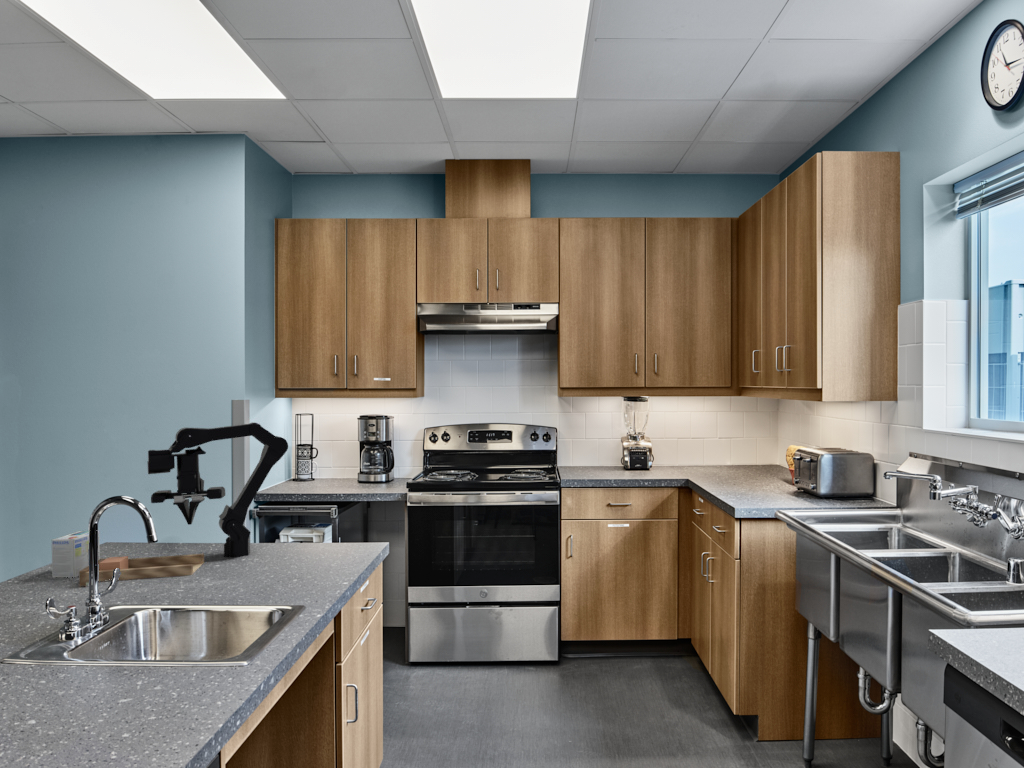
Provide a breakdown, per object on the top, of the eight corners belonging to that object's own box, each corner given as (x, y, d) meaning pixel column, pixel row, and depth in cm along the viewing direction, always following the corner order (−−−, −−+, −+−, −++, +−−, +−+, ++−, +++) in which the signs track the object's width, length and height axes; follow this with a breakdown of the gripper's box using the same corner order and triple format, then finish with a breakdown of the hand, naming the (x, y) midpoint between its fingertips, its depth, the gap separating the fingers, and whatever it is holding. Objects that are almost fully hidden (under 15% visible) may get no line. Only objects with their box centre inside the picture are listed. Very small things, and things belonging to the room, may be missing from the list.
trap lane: (204, 565, 185) (203, 551, 186) (191, 578, 173) (191, 563, 173) (100, 573, 180) (100, 558, 180) (79, 586, 167) (79, 571, 167)
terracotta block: (128, 570, 178) (128, 556, 178) (120, 576, 172) (119, 561, 172) (108, 571, 177) (108, 557, 177) (99, 578, 171) (99, 563, 171)
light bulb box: (78, 567, 186) (78, 530, 186) (101, 567, 186) (100, 530, 186) (50, 578, 176) (50, 539, 176) (74, 578, 175) (74, 538, 176)
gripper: (228, 465, 197) (230, 516, 197) (161, 469, 193) (163, 521, 193) (220, 470, 186) (222, 523, 186) (149, 474, 182) (151, 529, 182)
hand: (190, 524), depth 187 cm, fingers closed
